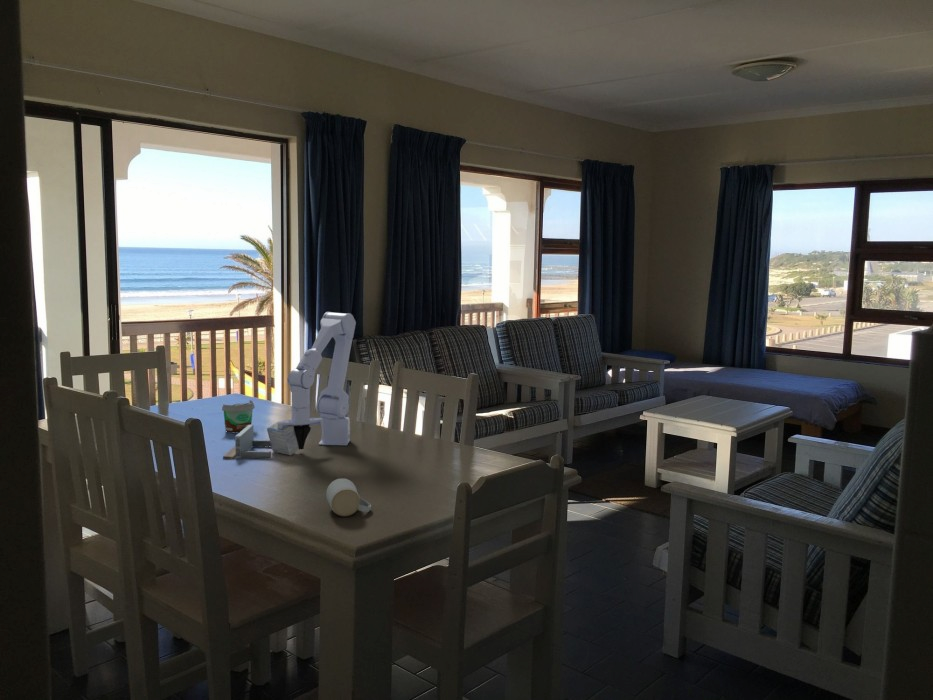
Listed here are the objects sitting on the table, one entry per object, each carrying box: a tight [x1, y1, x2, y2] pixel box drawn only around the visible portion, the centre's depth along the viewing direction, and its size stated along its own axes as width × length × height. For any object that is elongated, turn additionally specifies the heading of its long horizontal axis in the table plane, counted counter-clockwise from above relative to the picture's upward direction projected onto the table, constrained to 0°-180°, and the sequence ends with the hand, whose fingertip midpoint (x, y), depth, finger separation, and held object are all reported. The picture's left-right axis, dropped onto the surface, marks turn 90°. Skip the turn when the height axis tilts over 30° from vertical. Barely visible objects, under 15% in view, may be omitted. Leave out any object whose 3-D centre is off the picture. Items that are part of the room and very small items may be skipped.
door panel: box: [234, 424, 255, 459], centre depth 239 cm, size 2×17×7 cm, turn 2°
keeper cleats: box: [240, 439, 272, 459], centre depth 240 cm, size 9×15×2 cm, turn 2°
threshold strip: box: [222, 445, 236, 460], centre depth 239 cm, size 3×18×1 cm, turn 2°
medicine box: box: [266, 422, 300, 456], centre depth 238 cm, size 8×4×9 cm, turn 57°
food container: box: [221, 399, 255, 433], centre depth 266 cm, size 12×6×10 cm, turn 143°
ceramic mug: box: [325, 478, 372, 517], centre depth 186 cm, size 11×8×8 cm
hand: (300, 448), depth 240 cm, fingers closed
